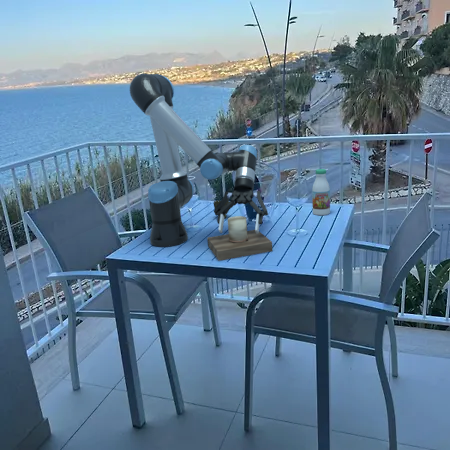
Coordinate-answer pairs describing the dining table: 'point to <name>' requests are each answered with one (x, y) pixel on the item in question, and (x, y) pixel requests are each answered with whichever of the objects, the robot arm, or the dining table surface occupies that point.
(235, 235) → the ash peg
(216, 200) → the cup
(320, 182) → the milk bottle
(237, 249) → the walnut board
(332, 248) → the dining table surface
